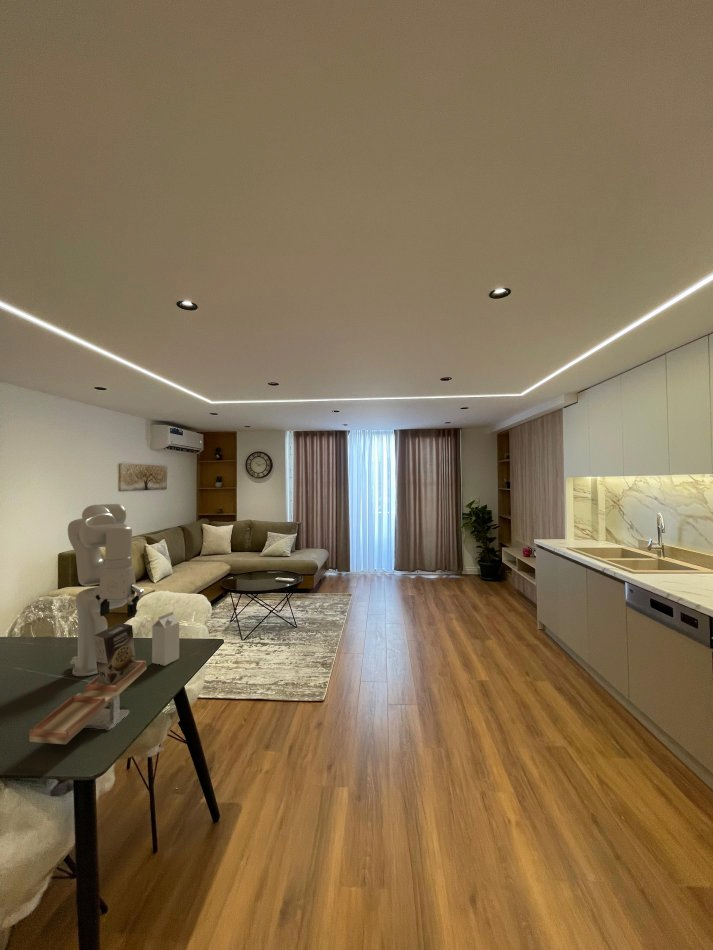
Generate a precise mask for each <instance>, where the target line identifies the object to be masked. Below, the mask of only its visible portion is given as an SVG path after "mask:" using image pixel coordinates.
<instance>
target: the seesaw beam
mask: <svg viewBox="0 0 713 950" xmlns="http://www.w3.org/2000/svg"><path fill="white" fill-rule="evenodd" d="M135 661H136V668H135V669H134V670H133V671H131V672H130V673H129V674H128V675H127V676H126V677H125V678H123V679H121V680H120V681H118V682H117V683H115V684H113V685H106V684H103V683H100V682H98V675H97V676H95V677H94V678H93V679H92V680H89V682H88V683H86V684H85V690H84V691H83V692H80V693H81V694H80V695H79V696H77V694H73V695H71V696H70V697H69V698H68V699H66V700H65V701H64V702H63V703H62V704H60V705H59V706H58V707H56V708H55V709H54V710H53V711H52V712H50V713H49V714H48V715H46V717H44V718H43V719H42V720H41V721H39V722H38V723H37V724H35V725H34V726H33V727H32V728H30V729H29V730H28V734H29V736H28V738H29V739H28V740H29V742H30V743H40V744H43V743H45V744H56V745H57V744H58V745H67V744H68V743H69V742H70V741H71V740H72V739H73V738H74V737H75V736H76V735H77V734H79V733H80V732H81V731H82V730H83V728H84V727H85V726H86V725H87V724H88V723H89V722H90V721H91V720H92V719H93V718H94V717H95V716H97V715H98V714H99V713H100V712H101V711H102V710H103V709H104V708H105V709H106V707H107V706H110V699H111V698H113V697H114V696H116V695H120V694H121V693H123V692H124V690H126V688H128V687H129V686H130V685H131V684H132V683H133V682H135V680H136V679H137V678H139V676H140V675H142V674H143V673H144V672H145V671H146V670H147V666H148V665H147V662H146V660H137V659H135Z"/></svg>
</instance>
